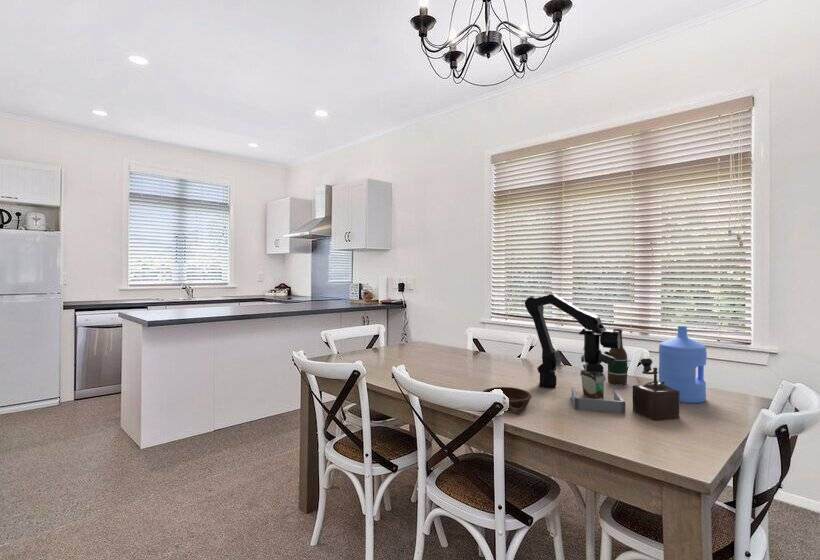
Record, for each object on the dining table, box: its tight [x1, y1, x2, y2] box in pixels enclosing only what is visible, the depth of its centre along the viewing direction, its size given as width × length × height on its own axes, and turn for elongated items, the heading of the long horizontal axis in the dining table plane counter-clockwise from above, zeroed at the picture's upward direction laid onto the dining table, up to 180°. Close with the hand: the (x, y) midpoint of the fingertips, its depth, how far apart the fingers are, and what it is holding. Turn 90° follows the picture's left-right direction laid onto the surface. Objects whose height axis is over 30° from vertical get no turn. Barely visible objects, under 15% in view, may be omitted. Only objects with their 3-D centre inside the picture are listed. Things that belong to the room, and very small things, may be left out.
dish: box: [482, 386, 533, 414], centre depth 154 cm, size 18×22×5 cm
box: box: [571, 386, 626, 414], centre depth 155 cm, size 16×15×4 cm
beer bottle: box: [607, 328, 628, 386], centre depth 185 cm, size 8×8×24 cm
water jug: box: [658, 325, 708, 404], centre depth 163 cm, size 16×16×28 cm
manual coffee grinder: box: [632, 357, 681, 422], centre depth 147 cm, size 16×11×18 cm
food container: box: [580, 369, 607, 400], centre depth 162 cm, size 12×6×10 cm, turn 6°
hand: (591, 384), depth 169 cm, fingers closed
